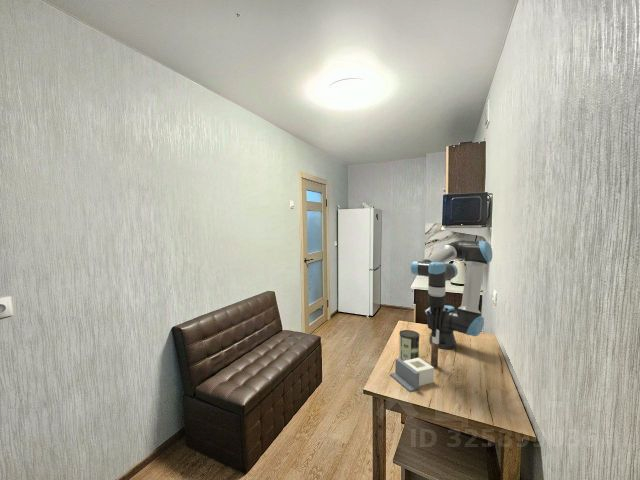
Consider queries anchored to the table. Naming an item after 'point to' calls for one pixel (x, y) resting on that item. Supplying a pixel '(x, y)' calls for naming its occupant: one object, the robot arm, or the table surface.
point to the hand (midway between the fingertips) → (435, 342)
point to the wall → (406, 376)
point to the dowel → (434, 355)
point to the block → (422, 370)
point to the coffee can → (408, 345)
